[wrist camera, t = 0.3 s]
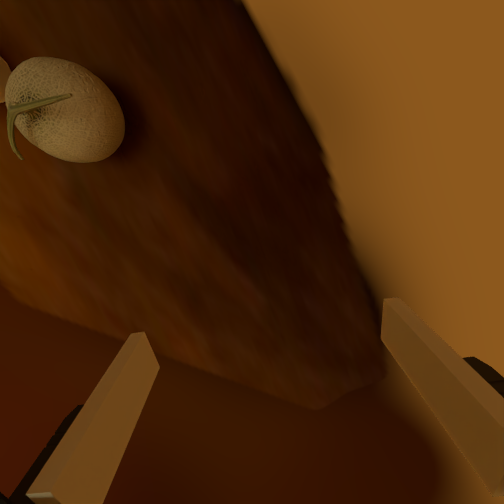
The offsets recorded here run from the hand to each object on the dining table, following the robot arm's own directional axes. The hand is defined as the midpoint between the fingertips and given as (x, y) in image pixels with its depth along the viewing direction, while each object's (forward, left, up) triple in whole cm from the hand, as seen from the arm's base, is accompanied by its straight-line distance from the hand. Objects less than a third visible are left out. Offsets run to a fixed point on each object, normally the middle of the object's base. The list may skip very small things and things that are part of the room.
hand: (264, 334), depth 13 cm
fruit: (-17, -19, -28) cm, 38 cm away
